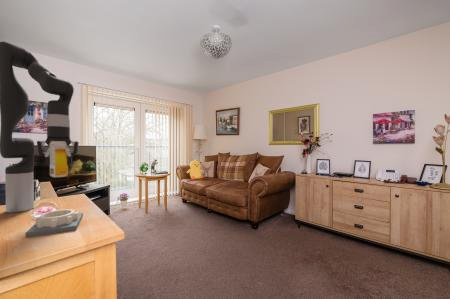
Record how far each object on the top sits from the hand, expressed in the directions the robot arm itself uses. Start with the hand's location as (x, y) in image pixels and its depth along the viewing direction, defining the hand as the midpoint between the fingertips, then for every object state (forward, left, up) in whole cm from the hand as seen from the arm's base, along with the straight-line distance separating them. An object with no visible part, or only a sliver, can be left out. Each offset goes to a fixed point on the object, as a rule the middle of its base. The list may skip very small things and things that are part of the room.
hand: (59, 165), depth 87 cm
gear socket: (+13, +2, -21) cm, 25 cm away
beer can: (0, 0, -5) cm, 5 cm away
